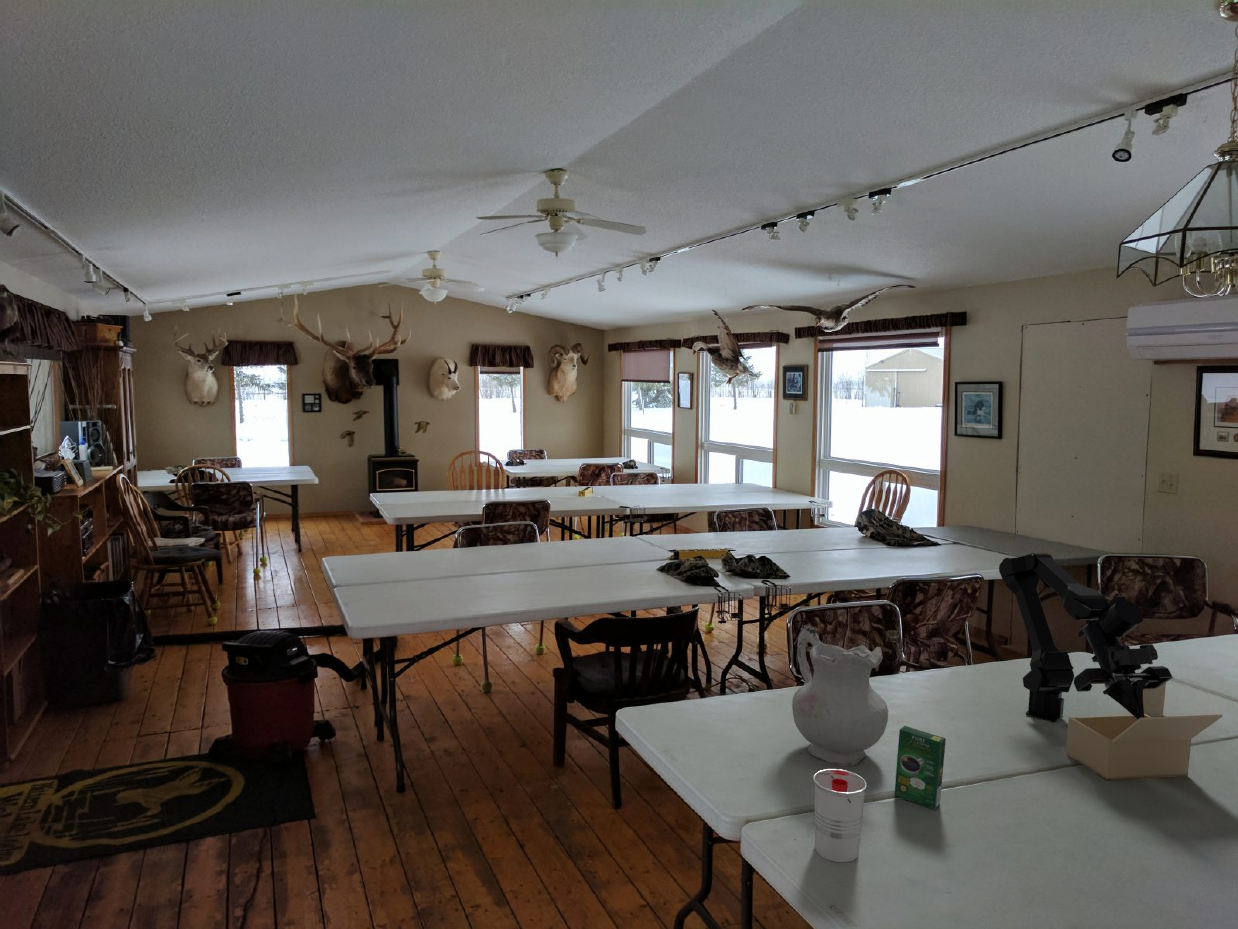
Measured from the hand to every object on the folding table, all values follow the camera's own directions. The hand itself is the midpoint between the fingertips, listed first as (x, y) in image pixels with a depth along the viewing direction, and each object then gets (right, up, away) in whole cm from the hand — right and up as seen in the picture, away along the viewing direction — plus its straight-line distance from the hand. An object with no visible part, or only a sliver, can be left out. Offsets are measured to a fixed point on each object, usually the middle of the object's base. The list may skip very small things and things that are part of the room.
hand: (1141, 719), depth 170 cm
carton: (-1, -11, +4) cm, 12 cm away
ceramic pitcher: (-60, -9, +8) cm, 61 cm away
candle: (+22, -9, +33) cm, 41 cm away
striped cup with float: (-69, -13, -31) cm, 76 cm away
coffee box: (-49, -11, -13) cm, 52 cm away
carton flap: (+1, 0, -6) cm, 6 cm away
